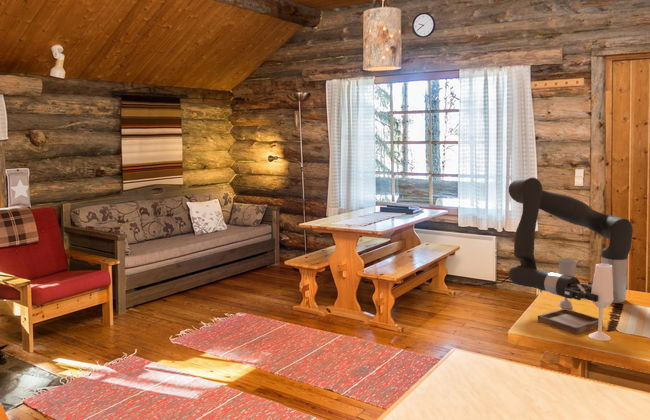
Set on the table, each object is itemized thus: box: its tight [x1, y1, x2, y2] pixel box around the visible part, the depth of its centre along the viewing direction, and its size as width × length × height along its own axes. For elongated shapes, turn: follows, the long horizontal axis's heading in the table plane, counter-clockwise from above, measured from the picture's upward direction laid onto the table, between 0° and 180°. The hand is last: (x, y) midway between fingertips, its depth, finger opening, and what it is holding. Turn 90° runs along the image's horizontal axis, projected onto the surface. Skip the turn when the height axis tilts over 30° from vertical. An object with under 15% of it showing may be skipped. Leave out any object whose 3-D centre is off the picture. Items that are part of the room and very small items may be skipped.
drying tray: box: [537, 308, 604, 335], centre depth 200 cm, size 15×15×2 cm
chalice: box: [557, 257, 578, 309], centre depth 218 cm, size 7×7×18 cm
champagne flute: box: [588, 263, 613, 342], centre depth 186 cm, size 7×7×24 cm
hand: (605, 296), depth 184 cm, fingers open, 8 cm apart
